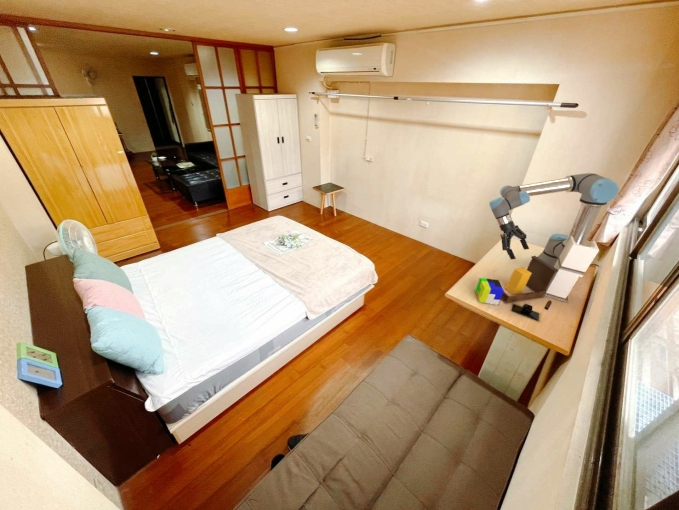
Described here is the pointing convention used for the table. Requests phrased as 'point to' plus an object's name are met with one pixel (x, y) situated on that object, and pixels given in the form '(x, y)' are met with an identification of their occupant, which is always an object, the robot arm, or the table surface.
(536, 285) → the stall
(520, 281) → the yellow block
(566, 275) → the white stepped block
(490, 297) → the puzzle toy
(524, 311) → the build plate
